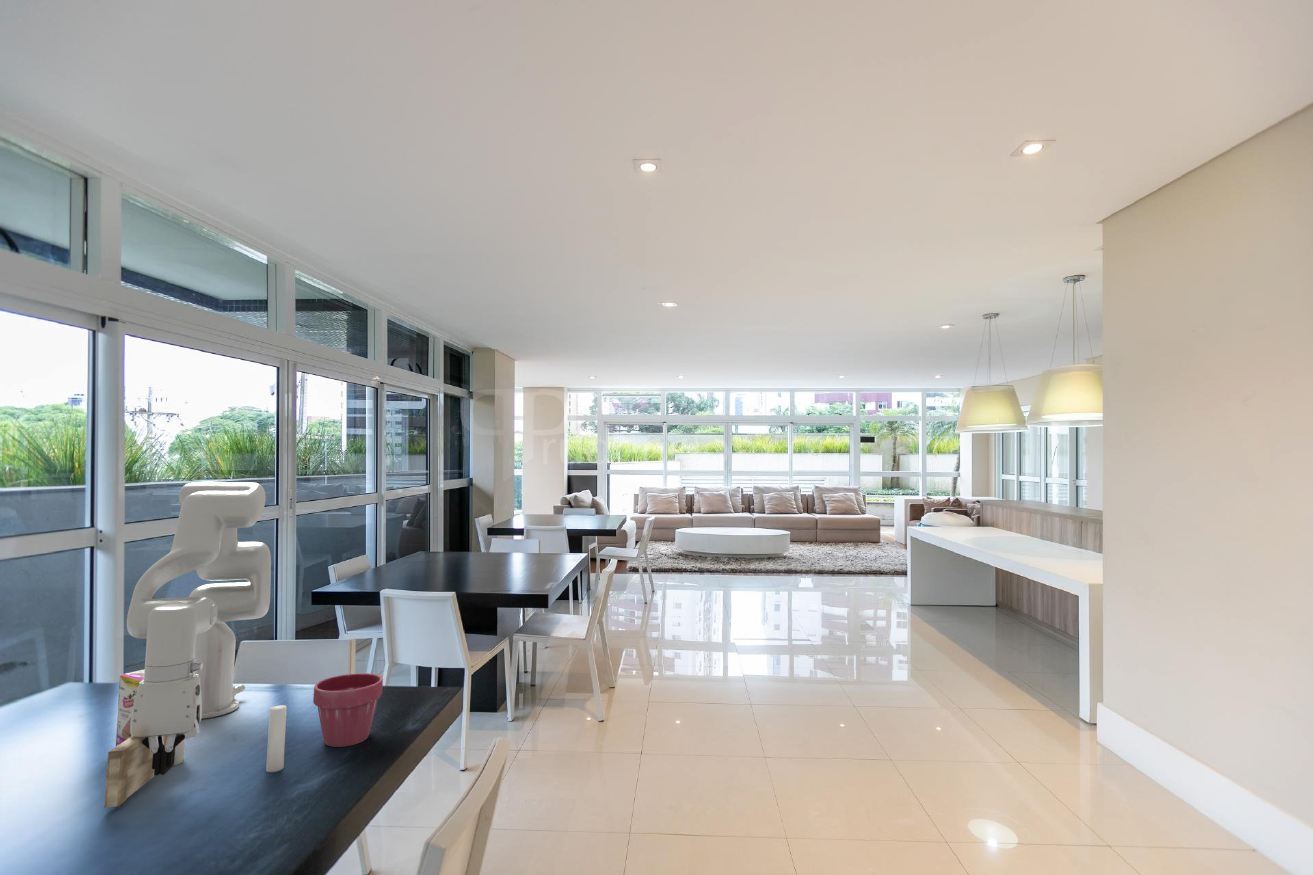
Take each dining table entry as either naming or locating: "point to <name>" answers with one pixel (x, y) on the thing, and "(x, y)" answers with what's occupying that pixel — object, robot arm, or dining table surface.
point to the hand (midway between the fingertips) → (162, 771)
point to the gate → (127, 770)
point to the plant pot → (347, 707)
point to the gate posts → (274, 740)
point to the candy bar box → (127, 703)
